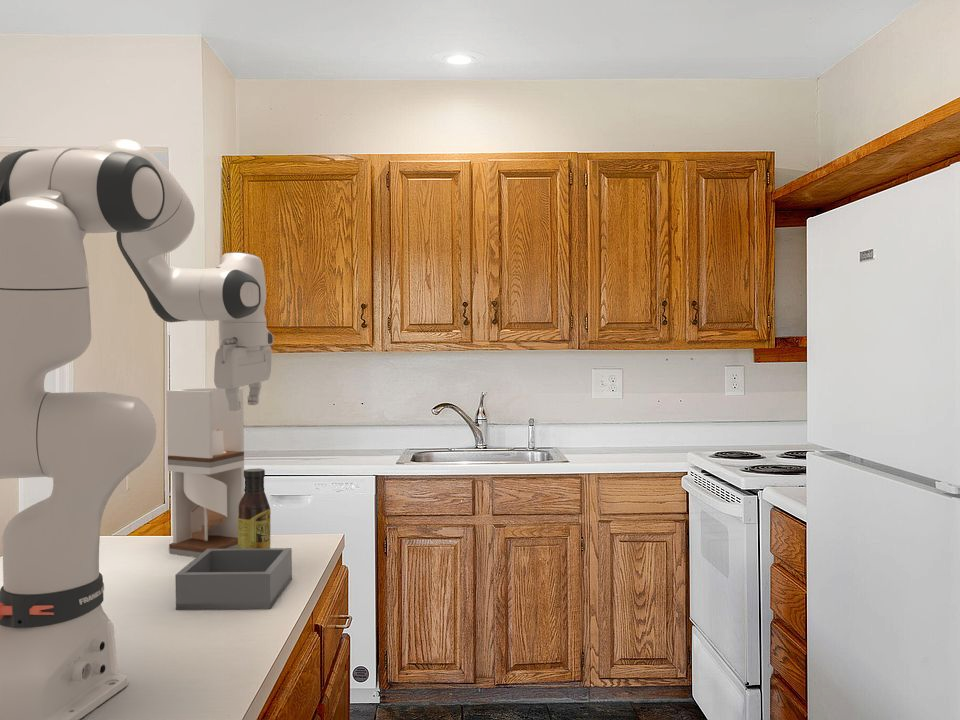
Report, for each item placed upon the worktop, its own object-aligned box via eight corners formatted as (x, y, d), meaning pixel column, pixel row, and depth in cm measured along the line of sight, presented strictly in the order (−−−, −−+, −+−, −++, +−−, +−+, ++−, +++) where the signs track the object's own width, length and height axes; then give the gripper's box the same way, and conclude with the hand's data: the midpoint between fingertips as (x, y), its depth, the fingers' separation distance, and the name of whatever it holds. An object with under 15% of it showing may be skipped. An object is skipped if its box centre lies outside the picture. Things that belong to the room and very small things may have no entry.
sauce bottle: (261, 574, 150) (260, 473, 149) (231, 572, 151) (230, 472, 151) (276, 564, 156) (275, 467, 156) (248, 563, 158) (247, 466, 157)
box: (270, 608, 131) (270, 573, 131) (175, 609, 131) (175, 574, 131) (291, 579, 147) (291, 548, 147) (207, 580, 147) (207, 548, 147)
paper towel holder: (169, 553, 165) (166, 390, 164) (204, 541, 175) (202, 387, 174) (211, 559, 160) (208, 391, 159) (245, 546, 170) (243, 388, 169)
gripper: (238, 338, 139) (239, 414, 140) (276, 335, 160) (277, 402, 161) (204, 338, 140) (205, 414, 141) (247, 335, 160) (248, 401, 161)
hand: (244, 407), depth 151 cm, fingers open, 8 cm apart
